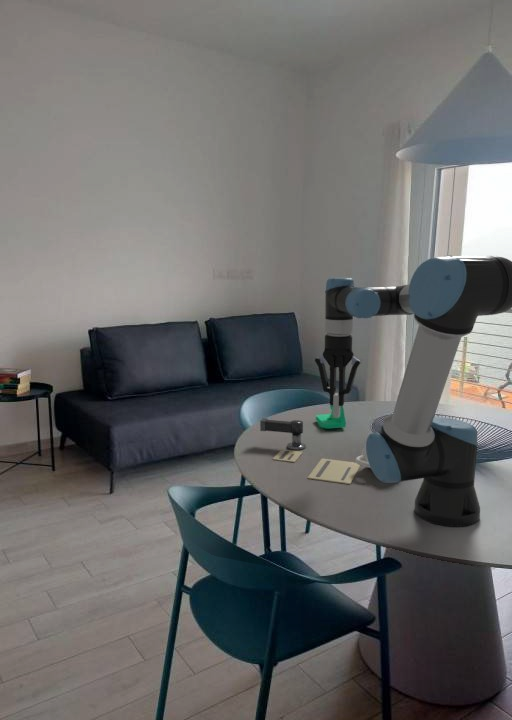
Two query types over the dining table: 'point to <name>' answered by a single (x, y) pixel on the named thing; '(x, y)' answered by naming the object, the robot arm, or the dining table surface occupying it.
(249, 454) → the dining table surface
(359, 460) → the mug
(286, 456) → the label card
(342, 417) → the camera mount
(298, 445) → the grey mushroom knob
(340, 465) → the label card
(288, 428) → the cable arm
